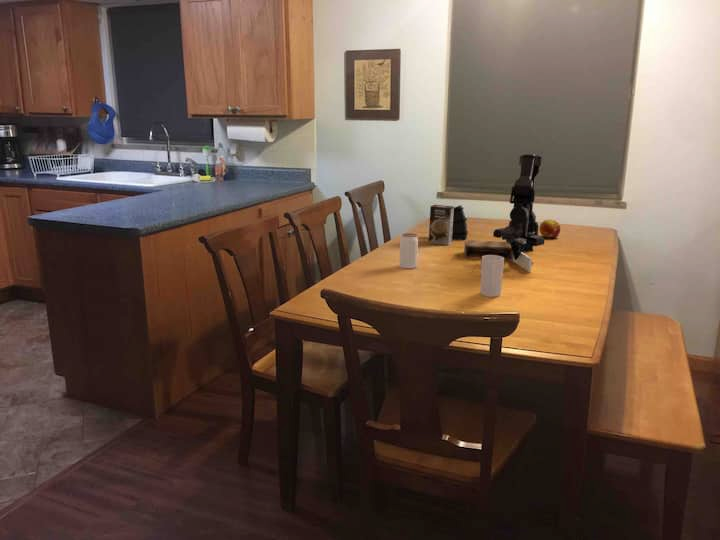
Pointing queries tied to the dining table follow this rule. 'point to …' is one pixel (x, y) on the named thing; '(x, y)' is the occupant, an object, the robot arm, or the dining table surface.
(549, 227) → the fruit
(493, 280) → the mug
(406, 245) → the can
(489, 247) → the walnut box
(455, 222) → the black piece
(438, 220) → the coffee box
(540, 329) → the dining table surface
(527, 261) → the door
